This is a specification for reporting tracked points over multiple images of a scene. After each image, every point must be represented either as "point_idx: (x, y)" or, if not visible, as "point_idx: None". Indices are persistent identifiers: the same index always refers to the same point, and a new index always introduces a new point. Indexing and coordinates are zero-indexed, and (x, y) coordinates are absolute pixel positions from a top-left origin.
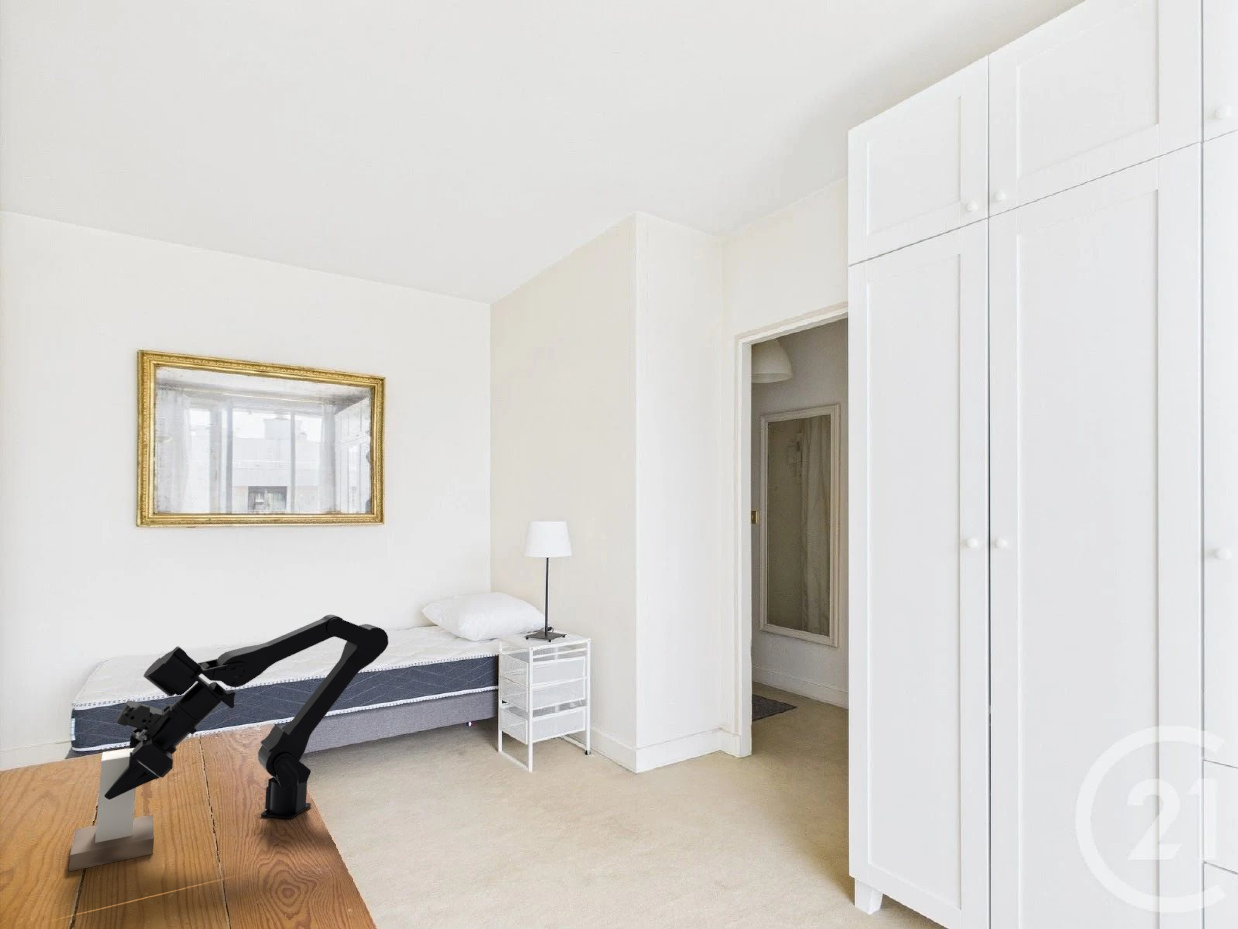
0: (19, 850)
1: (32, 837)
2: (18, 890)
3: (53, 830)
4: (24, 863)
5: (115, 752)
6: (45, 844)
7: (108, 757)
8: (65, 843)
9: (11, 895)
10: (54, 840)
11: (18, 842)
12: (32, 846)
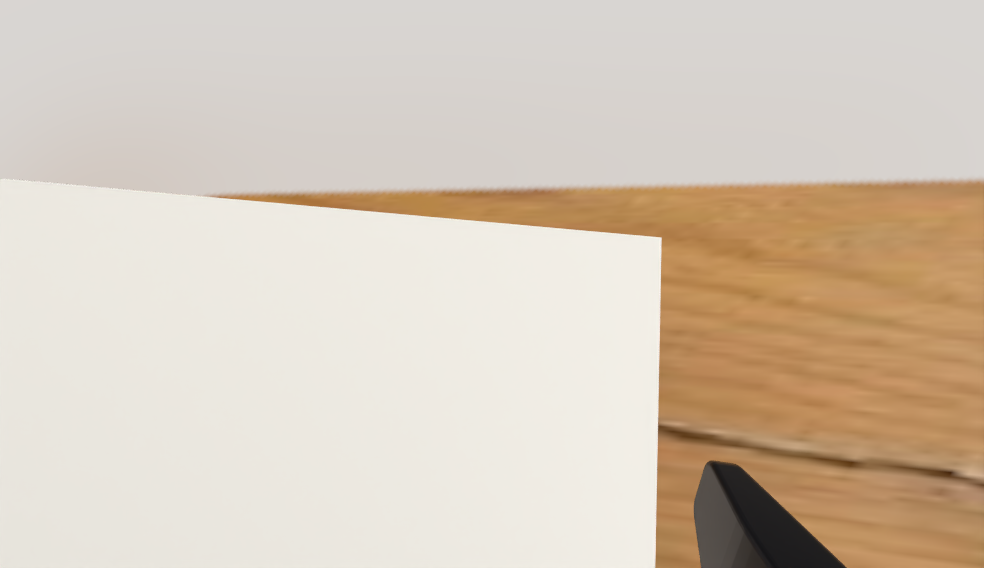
0: (712, 207)
1: (839, 242)
2: (351, 208)
3: (891, 309)
4: (568, 220)
5: (381, 556)
6: (726, 279)
7: (29, 312)
8: (692, 340)
9: (330, 194)
10: (755, 307)
11: (805, 203)
12: (730, 241)
